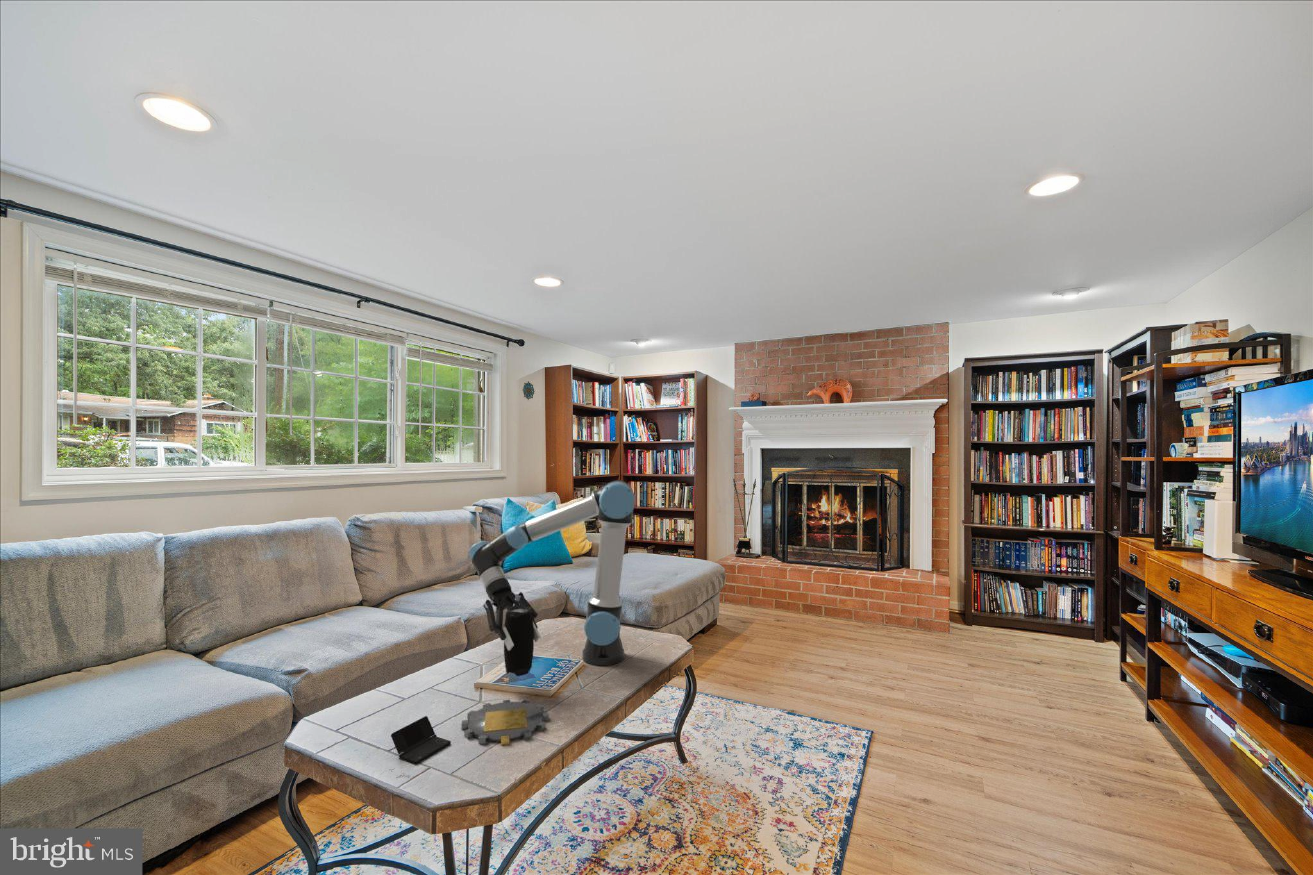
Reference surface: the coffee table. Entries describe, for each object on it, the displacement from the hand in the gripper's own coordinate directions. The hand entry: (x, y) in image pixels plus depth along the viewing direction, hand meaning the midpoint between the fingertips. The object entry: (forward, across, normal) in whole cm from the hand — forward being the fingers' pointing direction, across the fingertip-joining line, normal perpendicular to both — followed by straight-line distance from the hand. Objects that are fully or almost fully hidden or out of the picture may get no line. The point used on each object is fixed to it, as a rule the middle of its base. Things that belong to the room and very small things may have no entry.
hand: (524, 643), depth 176 cm
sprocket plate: (+19, +15, -2) cm, 25 cm away
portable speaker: (+5, 0, -9) cm, 10 cm away
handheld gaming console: (+17, +37, -5) cm, 41 cm away
